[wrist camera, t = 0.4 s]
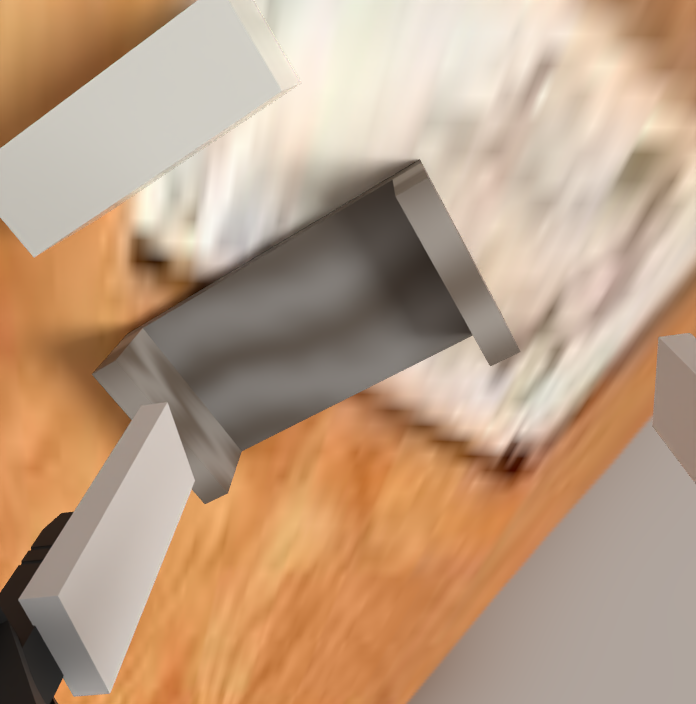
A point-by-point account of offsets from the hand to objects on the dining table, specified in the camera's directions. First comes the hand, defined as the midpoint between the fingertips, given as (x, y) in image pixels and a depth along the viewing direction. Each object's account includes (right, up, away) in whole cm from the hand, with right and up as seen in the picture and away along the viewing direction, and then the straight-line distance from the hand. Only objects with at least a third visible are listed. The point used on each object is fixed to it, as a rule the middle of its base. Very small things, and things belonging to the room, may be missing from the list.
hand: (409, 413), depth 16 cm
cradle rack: (-4, +4, +27) cm, 27 cm away
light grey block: (-13, +16, +21) cm, 29 cm away
